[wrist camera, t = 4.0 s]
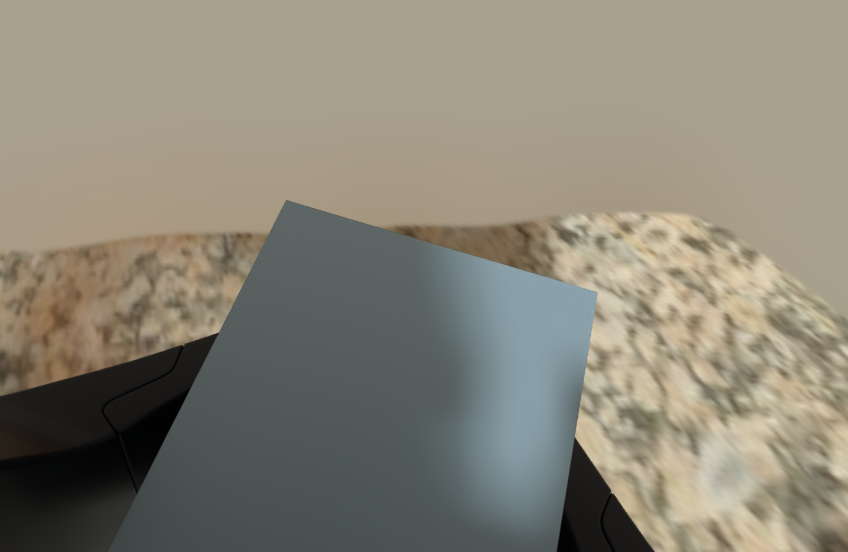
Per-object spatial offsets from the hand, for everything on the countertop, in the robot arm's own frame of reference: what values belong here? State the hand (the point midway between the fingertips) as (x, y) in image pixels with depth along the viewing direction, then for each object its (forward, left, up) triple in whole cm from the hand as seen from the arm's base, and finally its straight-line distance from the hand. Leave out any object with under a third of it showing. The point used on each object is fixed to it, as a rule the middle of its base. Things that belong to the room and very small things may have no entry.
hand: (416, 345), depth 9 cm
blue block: (-1, -1, -7) cm, 7 cm away
